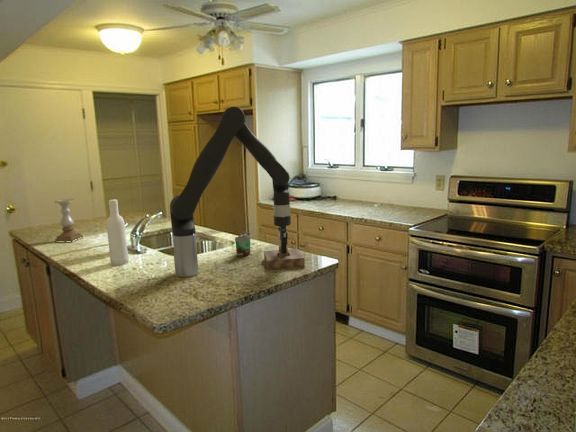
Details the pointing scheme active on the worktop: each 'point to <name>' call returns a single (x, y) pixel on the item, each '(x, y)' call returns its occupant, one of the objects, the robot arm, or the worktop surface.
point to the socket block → (284, 259)
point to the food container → (243, 244)
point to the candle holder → (67, 222)
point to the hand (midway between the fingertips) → (283, 251)
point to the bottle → (116, 236)
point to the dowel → (280, 247)
